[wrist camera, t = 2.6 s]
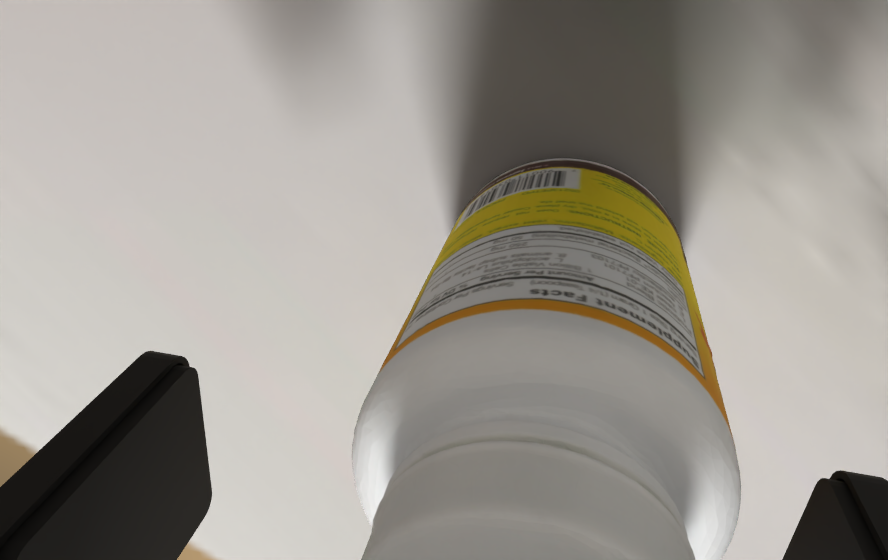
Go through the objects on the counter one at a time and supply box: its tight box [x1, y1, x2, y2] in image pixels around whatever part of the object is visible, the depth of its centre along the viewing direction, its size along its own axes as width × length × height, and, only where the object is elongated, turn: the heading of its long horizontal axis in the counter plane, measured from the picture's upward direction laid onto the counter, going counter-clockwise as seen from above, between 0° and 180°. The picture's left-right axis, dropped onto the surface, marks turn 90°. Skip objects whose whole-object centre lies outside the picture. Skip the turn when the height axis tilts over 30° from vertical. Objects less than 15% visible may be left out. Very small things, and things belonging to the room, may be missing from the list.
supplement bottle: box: [352, 158, 741, 560], centre depth 12 cm, size 6×6×10 cm
